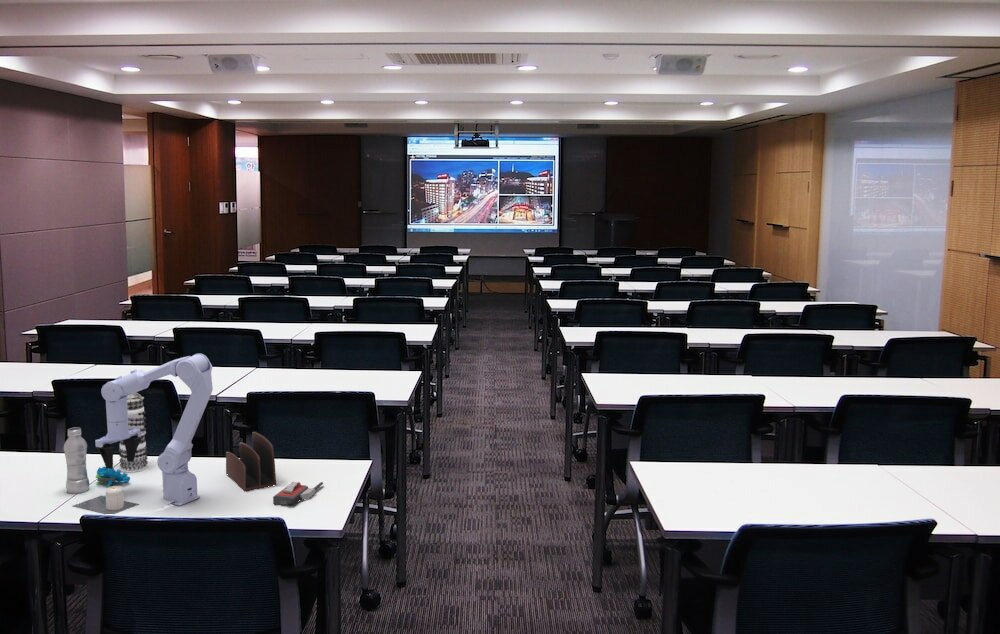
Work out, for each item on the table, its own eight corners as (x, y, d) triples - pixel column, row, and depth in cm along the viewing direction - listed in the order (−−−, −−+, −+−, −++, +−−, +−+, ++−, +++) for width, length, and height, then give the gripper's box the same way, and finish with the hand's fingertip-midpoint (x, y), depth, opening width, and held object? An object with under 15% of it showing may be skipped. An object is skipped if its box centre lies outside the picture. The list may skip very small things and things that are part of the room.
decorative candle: (141, 462, 296) (137, 389, 293) (154, 468, 290) (150, 394, 287) (114, 468, 290) (110, 394, 286) (126, 474, 284) (122, 398, 280)
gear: (137, 479, 274) (117, 464, 266) (130, 497, 270) (109, 481, 263) (110, 480, 278) (88, 465, 270) (102, 497, 274) (80, 482, 267)
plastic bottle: (64, 498, 262) (60, 432, 259) (68, 490, 268) (64, 427, 265) (88, 496, 263) (84, 431, 261) (91, 489, 270) (87, 425, 267)
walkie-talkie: (297, 509, 254) (325, 487, 273) (297, 495, 253) (325, 473, 273) (269, 507, 256) (299, 485, 275) (269, 492, 255) (299, 471, 275)
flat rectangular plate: (139, 507, 254) (138, 492, 254) (110, 518, 245) (109, 503, 245) (101, 498, 261) (100, 484, 261) (71, 509, 252) (70, 494, 252)
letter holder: (256, 469, 290) (254, 428, 288) (276, 486, 274) (275, 442, 272) (225, 474, 285) (224, 432, 283) (244, 492, 268) (243, 447, 266)
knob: (127, 506, 252) (126, 487, 252) (113, 511, 248) (113, 491, 248) (116, 503, 254) (115, 484, 254) (103, 508, 251) (102, 488, 250)
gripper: (128, 413, 268) (130, 456, 270) (87, 424, 255) (89, 469, 257) (144, 415, 265) (147, 459, 267) (103, 427, 252) (106, 473, 254)
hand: (120, 464), depth 262 cm, fingers open, 7 cm apart
